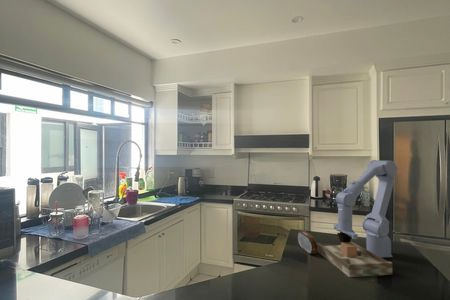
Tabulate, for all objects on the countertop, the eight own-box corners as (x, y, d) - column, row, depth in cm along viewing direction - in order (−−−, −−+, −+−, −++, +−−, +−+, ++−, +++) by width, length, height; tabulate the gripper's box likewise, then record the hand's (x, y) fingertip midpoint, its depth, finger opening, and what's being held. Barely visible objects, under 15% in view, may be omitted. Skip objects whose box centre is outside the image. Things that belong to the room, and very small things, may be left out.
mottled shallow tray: (352, 249, 118) (352, 240, 118) (392, 274, 94) (392, 262, 94) (317, 251, 115) (317, 242, 115) (349, 277, 91) (349, 265, 92)
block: (350, 251, 108) (350, 241, 108) (356, 256, 104) (357, 246, 104) (340, 252, 108) (341, 242, 108) (346, 257, 103) (347, 246, 103)
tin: (317, 256, 110) (317, 238, 110) (311, 257, 109) (311, 238, 109) (302, 244, 124) (302, 228, 125) (296, 244, 124) (296, 228, 124)
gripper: (327, 215, 115) (327, 243, 115) (346, 224, 101) (346, 256, 101) (341, 215, 116) (341, 243, 116) (362, 223, 102) (362, 256, 102)
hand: (344, 249), depth 109 cm, fingers closed, pressing on block
